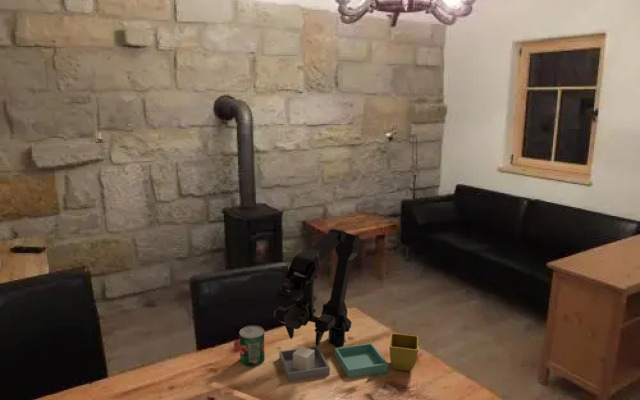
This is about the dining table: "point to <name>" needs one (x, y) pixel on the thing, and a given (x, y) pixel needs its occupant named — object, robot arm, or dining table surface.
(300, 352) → the stone block
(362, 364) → the teal bin
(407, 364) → the flower pot
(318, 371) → the charcoal bin
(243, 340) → the canned tomato
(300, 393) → the dining table surface
